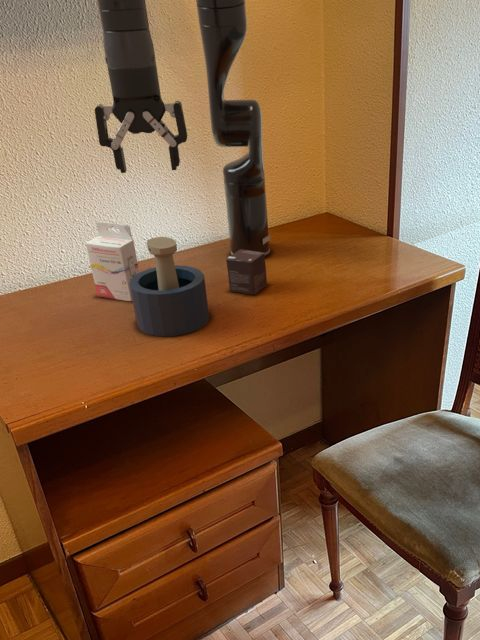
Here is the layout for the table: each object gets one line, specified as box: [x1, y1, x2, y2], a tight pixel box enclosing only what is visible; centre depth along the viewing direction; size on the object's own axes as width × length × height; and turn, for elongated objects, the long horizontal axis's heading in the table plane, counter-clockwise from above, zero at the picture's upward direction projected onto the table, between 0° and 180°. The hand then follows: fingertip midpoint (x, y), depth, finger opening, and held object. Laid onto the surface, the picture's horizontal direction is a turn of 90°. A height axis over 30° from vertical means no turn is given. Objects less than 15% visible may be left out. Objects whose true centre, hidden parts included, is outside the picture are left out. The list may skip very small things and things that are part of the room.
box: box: [225, 249, 268, 296], centre depth 139 cm, size 6×6×7 cm
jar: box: [129, 264, 210, 337], centre depth 126 cm, size 14×14×8 cm
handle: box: [146, 236, 179, 291], centre depth 124 cm, size 5×6×15 cm
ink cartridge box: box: [85, 221, 140, 302], centre depth 135 cm, size 9×5×15 cm, turn 71°
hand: (149, 170), depth 113 cm, fingers open, 8 cm apart
